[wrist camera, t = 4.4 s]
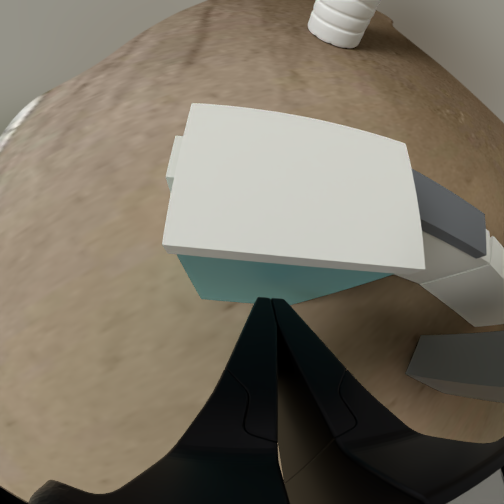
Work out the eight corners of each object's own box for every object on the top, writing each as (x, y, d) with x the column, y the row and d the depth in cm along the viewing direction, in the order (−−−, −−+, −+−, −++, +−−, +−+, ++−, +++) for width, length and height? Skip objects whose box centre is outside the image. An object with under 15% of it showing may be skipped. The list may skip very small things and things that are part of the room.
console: (481, 283, 19) (546, 265, 12) (477, 327, 18) (546, 319, 11) (199, 175, 18) (195, 89, 10) (176, 231, 17) (151, 163, 9)
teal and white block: (289, 307, 16) (425, 269, 5) (199, 300, 16) (162, 244, 5) (291, 254, 17) (405, 143, 6) (204, 245, 17) (191, 103, 5)
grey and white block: (443, 394, 16) (564, 409, 5) (403, 374, 16) (547, 390, 5) (457, 357, 17) (577, 353, 6) (420, 333, 17) (561, 319, 6)
